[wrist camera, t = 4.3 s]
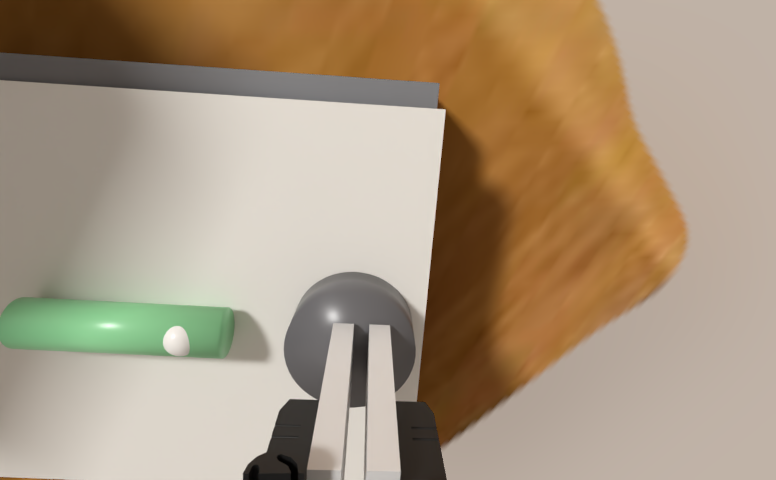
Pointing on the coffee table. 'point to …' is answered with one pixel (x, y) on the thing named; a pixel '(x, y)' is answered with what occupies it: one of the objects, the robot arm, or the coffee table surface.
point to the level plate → (198, 271)
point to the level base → (216, 80)
